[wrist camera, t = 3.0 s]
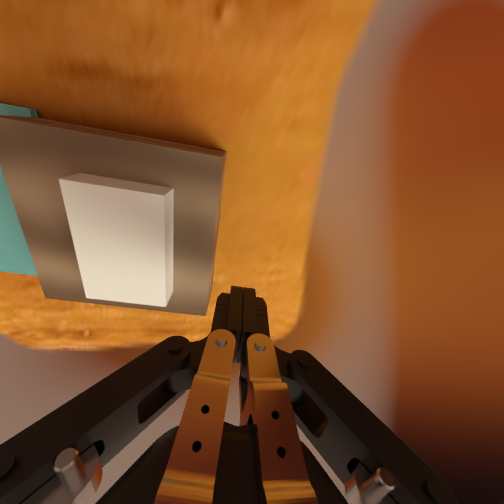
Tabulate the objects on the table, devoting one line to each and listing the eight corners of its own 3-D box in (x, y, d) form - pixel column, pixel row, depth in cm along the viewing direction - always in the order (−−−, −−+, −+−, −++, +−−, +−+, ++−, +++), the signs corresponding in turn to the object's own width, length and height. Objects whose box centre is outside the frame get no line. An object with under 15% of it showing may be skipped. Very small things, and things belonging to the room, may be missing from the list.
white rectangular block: (80, 172, 15) (58, 178, 13) (173, 188, 15) (164, 195, 14) (101, 282, 19) (86, 297, 17) (173, 291, 20) (165, 307, 18)
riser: (38, 117, 17) (-18, 114, 13) (226, 151, 18) (221, 156, 15) (76, 272, 23) (45, 298, 20) (211, 289, 25) (205, 316, 21)
